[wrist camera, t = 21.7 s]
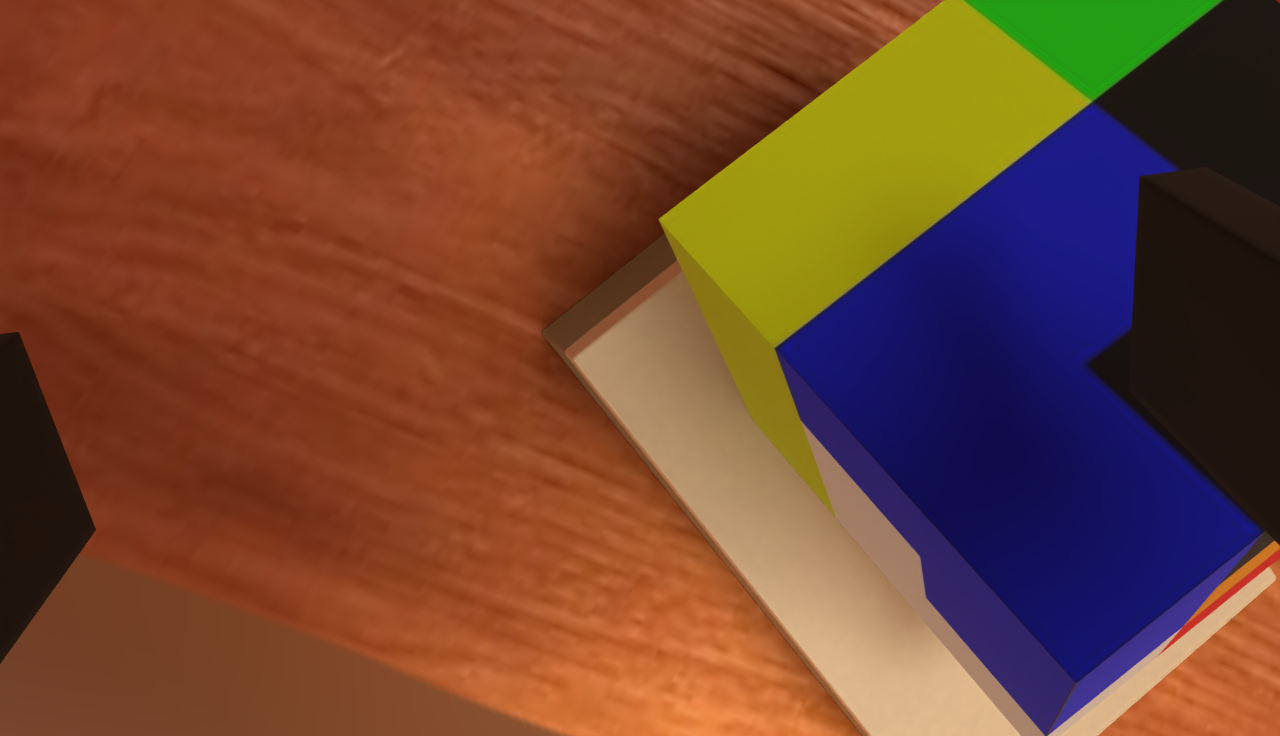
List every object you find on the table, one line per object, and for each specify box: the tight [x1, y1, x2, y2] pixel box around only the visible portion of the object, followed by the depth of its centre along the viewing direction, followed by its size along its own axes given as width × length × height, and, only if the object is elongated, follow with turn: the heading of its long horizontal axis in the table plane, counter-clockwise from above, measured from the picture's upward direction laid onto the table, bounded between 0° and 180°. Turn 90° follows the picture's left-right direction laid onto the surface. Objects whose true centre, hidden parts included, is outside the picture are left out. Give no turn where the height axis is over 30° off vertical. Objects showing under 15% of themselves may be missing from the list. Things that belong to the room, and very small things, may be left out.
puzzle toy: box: [659, 0, 1280, 736], centre depth 23 cm, size 10×10×10 cm
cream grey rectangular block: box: [542, 233, 1276, 736], centre depth 33 cm, size 18×12×6 cm, turn 38°
